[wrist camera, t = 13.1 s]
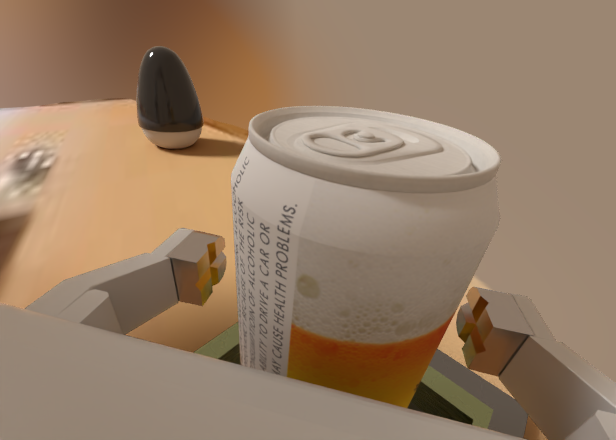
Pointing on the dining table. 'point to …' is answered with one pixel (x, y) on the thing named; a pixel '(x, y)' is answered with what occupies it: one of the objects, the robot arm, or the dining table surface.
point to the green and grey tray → (428, 390)
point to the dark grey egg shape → (167, 100)
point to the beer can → (356, 243)
